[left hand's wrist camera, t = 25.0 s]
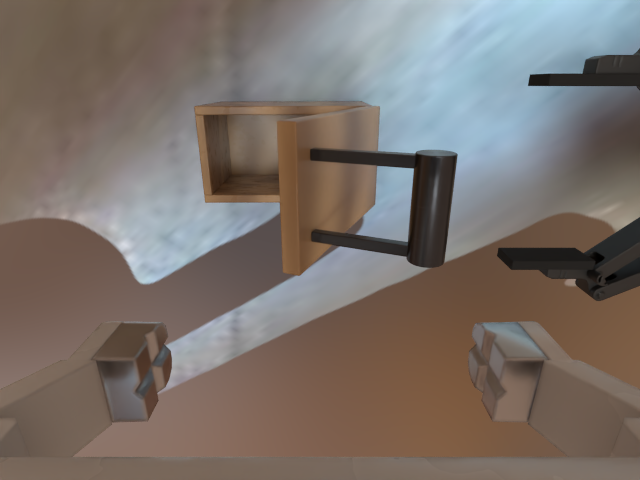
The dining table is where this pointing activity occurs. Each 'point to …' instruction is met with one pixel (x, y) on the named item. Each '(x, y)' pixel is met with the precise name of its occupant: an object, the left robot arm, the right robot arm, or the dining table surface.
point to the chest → (248, 146)
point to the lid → (354, 189)
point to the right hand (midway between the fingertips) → (519, 176)
